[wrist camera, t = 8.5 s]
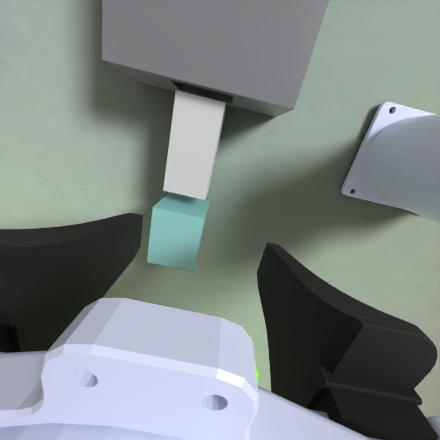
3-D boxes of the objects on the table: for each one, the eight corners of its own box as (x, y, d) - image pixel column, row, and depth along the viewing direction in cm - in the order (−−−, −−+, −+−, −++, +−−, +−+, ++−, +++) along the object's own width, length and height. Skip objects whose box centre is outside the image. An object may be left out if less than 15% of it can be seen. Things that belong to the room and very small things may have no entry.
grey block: (322, -41, 14) (372, -137, 9) (275, 117, 18) (293, 109, 13) (149, -91, 14) (104, -223, 9) (138, 82, 17) (101, 59, 12)
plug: (229, 111, 18) (230, 100, 13) (200, 242, 23) (193, 272, 18) (183, 99, 18) (166, 84, 13) (164, 234, 22) (146, 262, 17)
